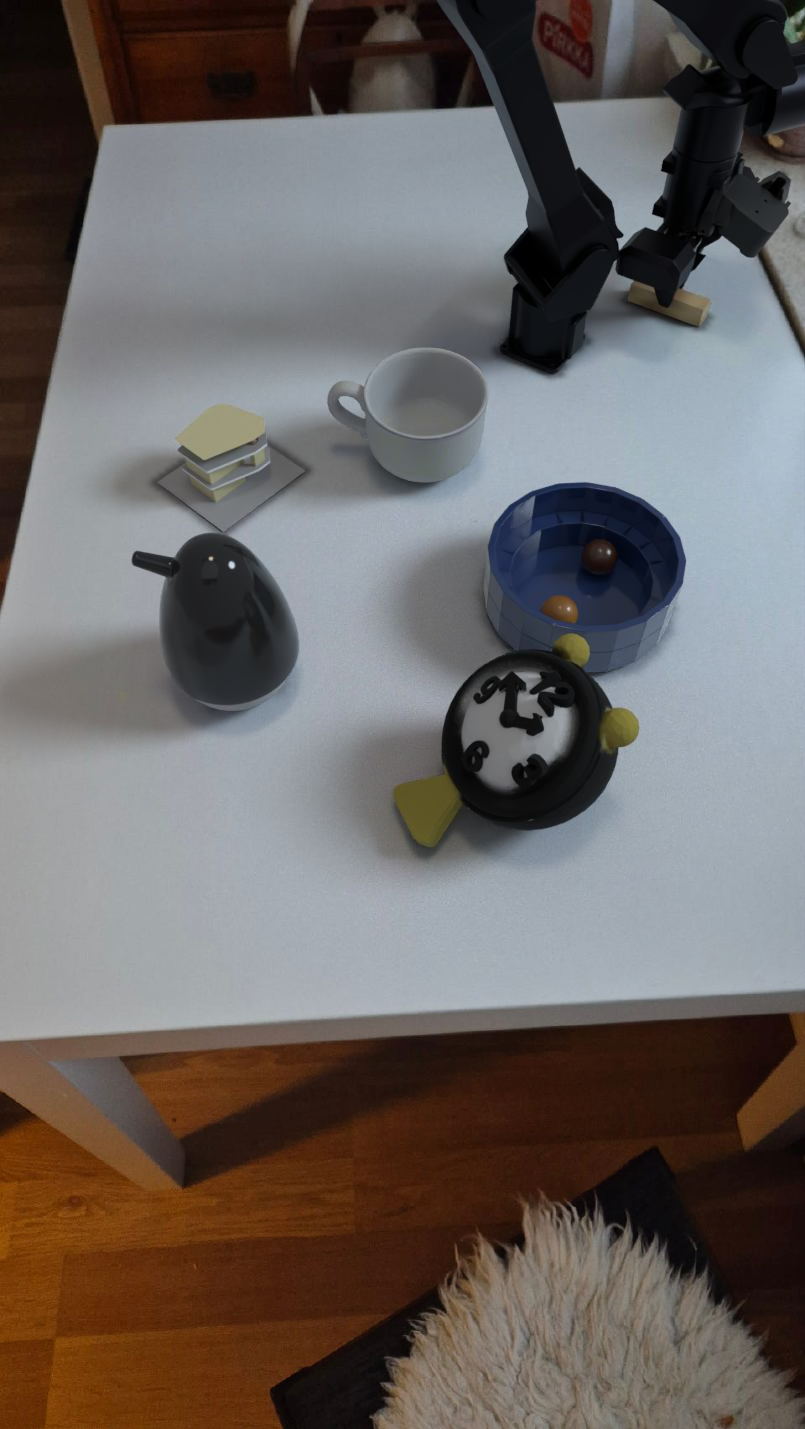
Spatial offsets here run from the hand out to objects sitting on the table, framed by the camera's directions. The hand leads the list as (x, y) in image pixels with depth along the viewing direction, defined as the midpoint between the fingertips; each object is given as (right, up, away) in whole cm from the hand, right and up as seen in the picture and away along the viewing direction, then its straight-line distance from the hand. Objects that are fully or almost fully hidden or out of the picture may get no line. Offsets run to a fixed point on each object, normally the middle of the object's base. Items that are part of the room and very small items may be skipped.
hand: (668, 300), depth 103 cm
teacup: (-27, -18, -10) cm, 34 cm away
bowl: (-13, -33, -19) cm, 40 cm away
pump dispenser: (-40, -39, -23) cm, 61 cm away
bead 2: (-11, -29, -20) cm, 37 cm away
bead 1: (-15, -34, -23) cm, 44 cm away
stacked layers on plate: (-43, -21, -11) cm, 49 cm away
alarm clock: (-19, -48, -28) cm, 59 cm away
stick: (0, -1, +1) cm, 1 cm away
